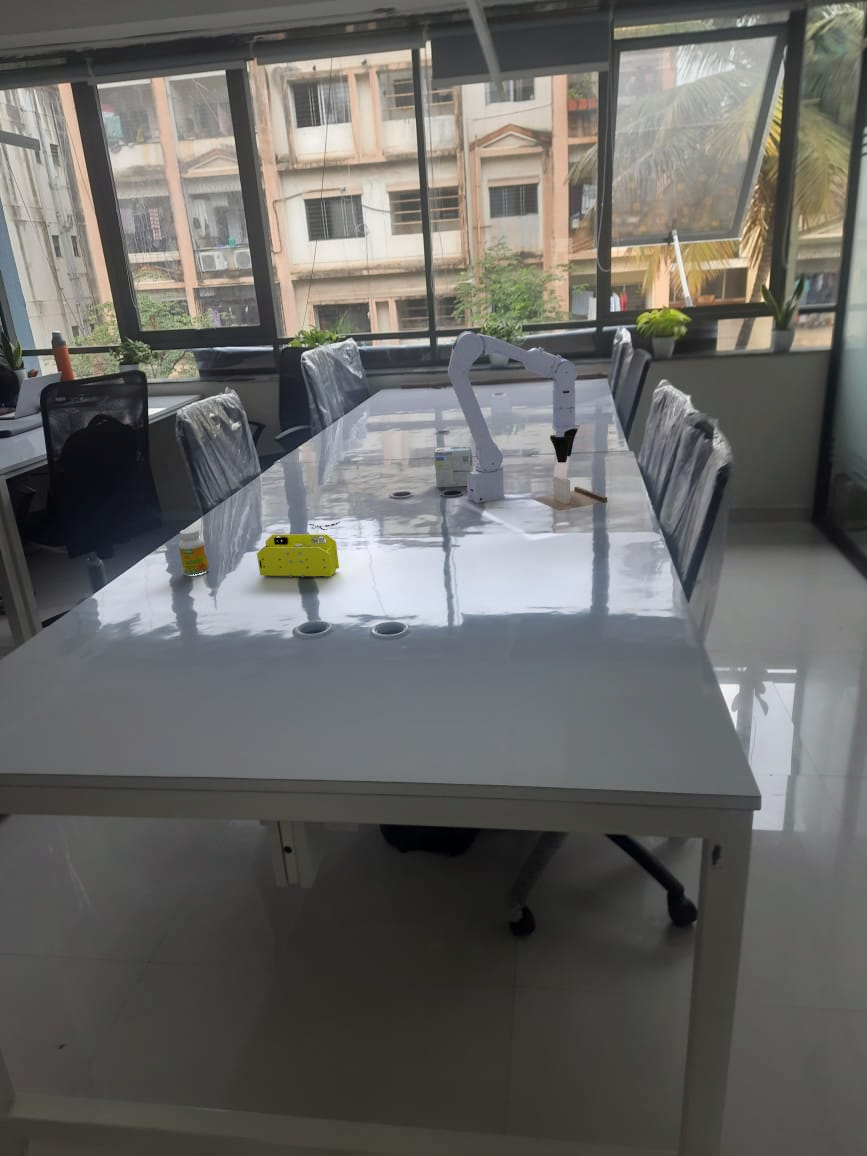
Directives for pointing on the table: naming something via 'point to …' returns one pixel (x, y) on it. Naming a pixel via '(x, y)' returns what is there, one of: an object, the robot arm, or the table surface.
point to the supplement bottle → (193, 552)
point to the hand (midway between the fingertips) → (564, 459)
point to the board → (573, 499)
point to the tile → (561, 489)
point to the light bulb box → (453, 466)
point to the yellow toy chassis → (298, 555)
